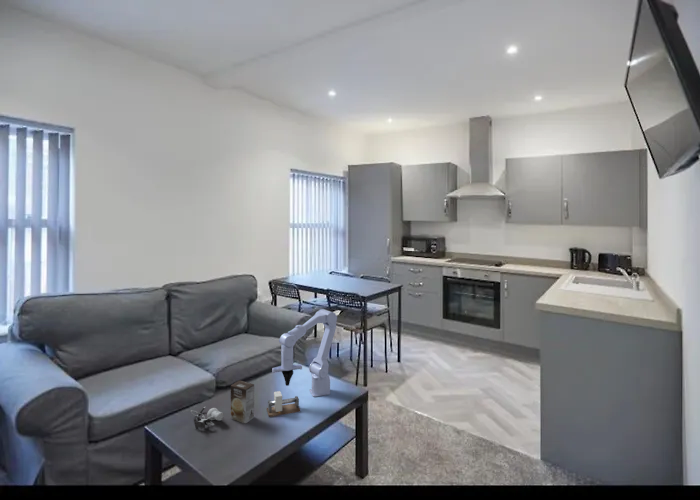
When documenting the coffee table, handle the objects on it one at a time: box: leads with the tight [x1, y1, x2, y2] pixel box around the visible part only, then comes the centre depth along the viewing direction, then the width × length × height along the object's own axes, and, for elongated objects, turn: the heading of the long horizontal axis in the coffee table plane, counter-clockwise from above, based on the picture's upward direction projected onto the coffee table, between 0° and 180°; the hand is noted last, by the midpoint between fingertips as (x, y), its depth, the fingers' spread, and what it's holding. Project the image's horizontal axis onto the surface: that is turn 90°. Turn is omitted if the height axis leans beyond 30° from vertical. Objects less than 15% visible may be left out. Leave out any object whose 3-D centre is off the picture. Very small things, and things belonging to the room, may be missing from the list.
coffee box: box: [230, 379, 255, 424], centre depth 173 cm, size 9×6×16 cm
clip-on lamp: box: [190, 406, 225, 429], centre depth 170 cm, size 12×6×18 cm
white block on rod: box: [273, 390, 283, 412], centre depth 179 cm, size 3×5×7 cm, turn 21°
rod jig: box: [266, 395, 301, 418], centre depth 180 cm, size 15×7×6 cm, turn 111°
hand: (287, 384), depth 186 cm, fingers closed
